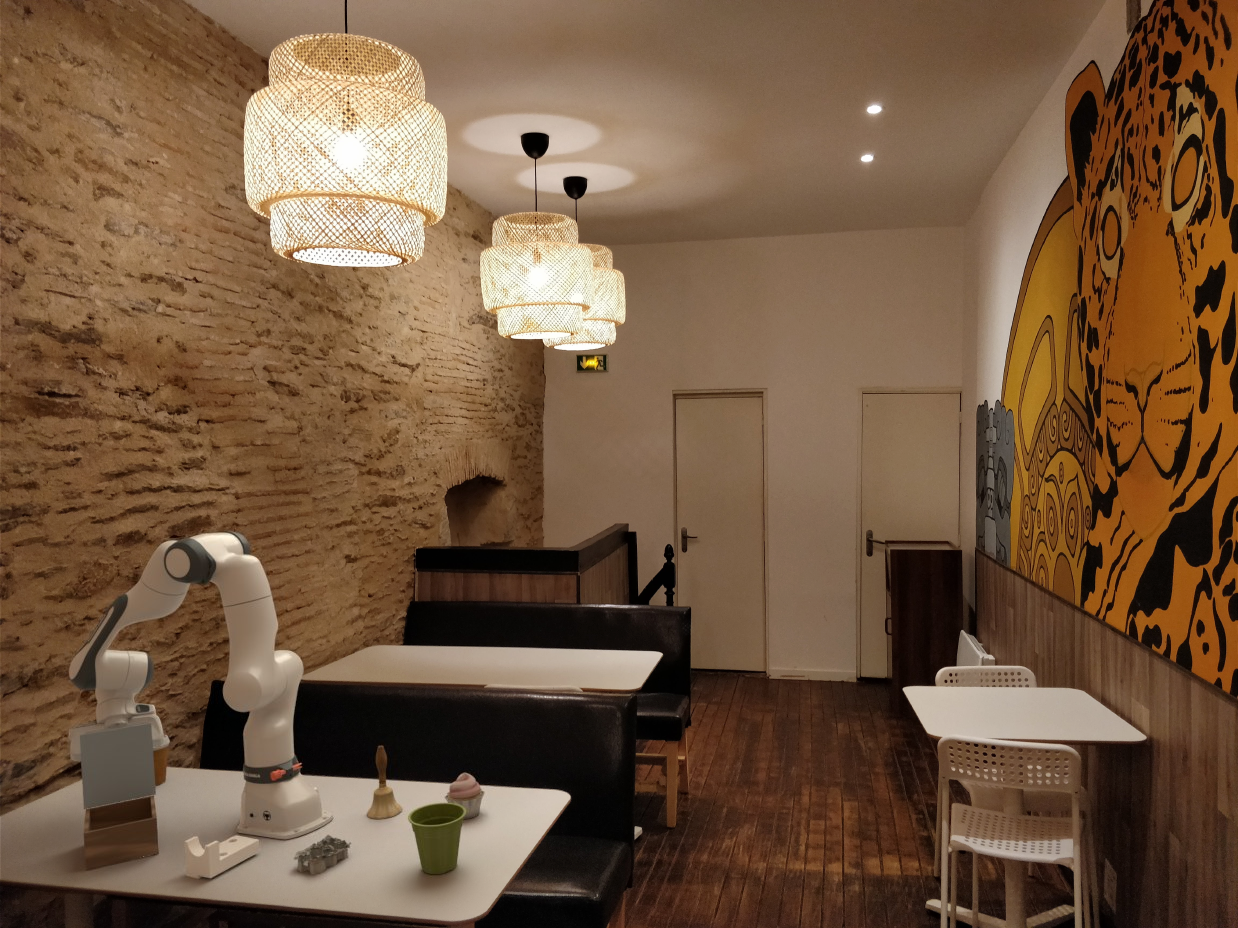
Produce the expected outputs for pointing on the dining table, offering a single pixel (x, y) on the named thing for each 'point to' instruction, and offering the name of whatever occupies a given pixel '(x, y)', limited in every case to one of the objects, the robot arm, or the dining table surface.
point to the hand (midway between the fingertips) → (119, 767)
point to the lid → (117, 765)
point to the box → (120, 832)
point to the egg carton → (322, 855)
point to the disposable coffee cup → (160, 761)
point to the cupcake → (466, 794)
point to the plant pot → (437, 835)
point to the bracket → (217, 855)
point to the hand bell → (383, 792)
